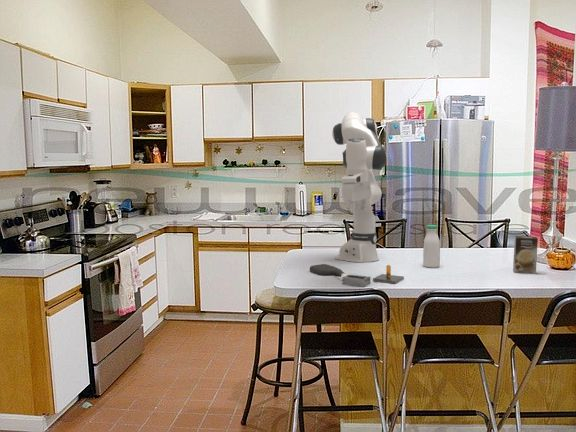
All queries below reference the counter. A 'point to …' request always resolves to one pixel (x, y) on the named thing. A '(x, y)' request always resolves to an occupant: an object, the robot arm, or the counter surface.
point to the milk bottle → (431, 248)
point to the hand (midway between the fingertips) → (358, 211)
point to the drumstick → (327, 270)
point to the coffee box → (525, 254)
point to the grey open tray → (356, 280)
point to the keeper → (388, 277)
